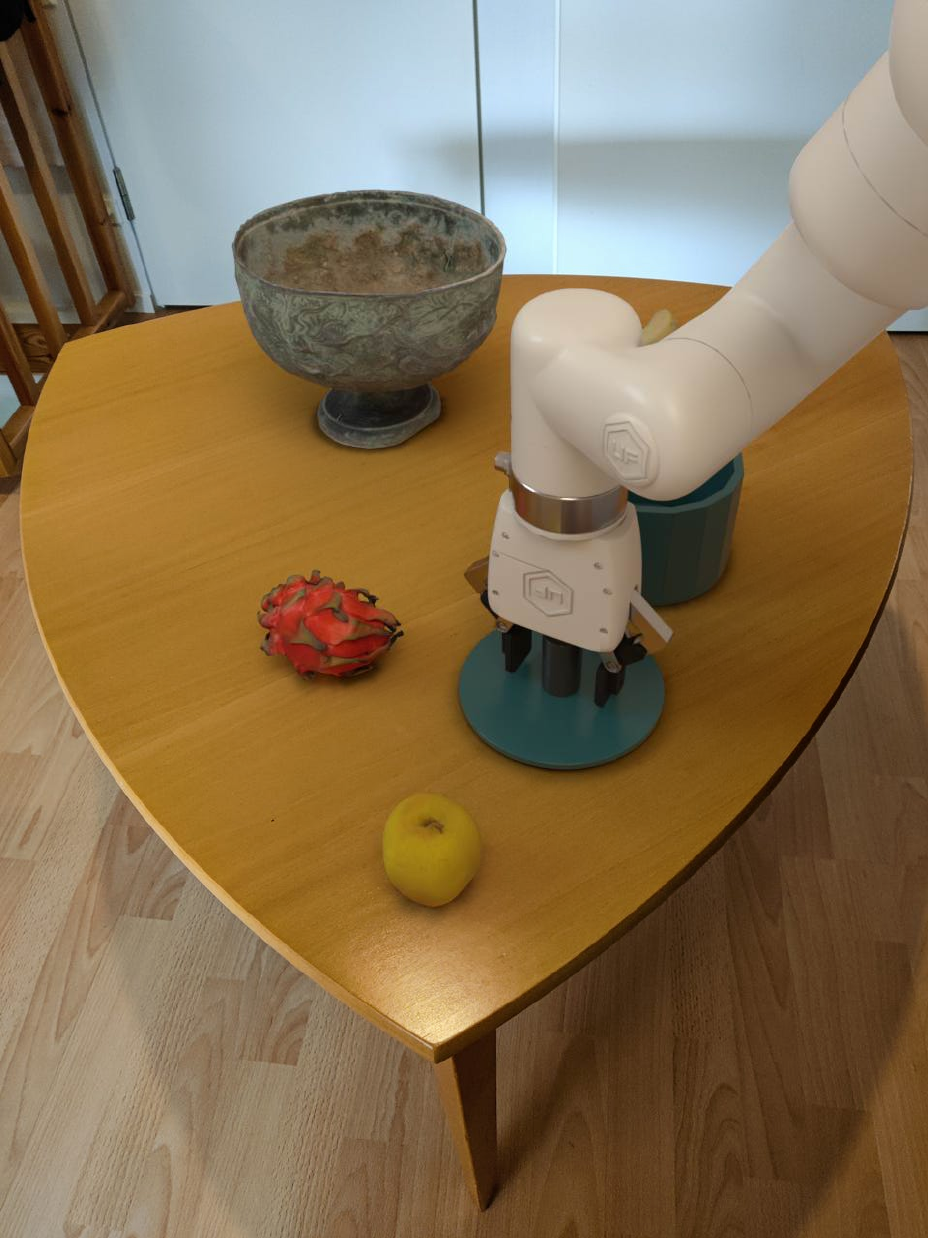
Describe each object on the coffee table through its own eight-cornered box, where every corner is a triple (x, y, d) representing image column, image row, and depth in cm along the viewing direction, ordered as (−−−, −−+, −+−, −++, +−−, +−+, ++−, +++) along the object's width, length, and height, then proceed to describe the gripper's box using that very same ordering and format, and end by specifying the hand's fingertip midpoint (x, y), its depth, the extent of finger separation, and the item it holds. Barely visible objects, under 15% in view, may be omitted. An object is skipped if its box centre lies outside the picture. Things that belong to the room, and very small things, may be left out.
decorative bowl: (214, 399, 111) (178, 220, 97) (403, 330, 122) (396, 161, 108) (342, 519, 96) (322, 328, 82) (544, 427, 107) (557, 246, 93)
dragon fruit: (261, 655, 84) (399, 686, 83) (228, 674, 76) (381, 709, 75) (279, 557, 83) (419, 587, 82) (247, 565, 74) (403, 599, 74)
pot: (748, 529, 91) (766, 436, 84) (691, 627, 82) (707, 532, 75) (602, 487, 97) (608, 396, 90) (534, 574, 88) (535, 481, 81)
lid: (693, 662, 79) (704, 601, 75) (613, 807, 70) (619, 746, 65) (517, 601, 86) (517, 540, 81) (421, 725, 76) (415, 664, 71)
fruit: (699, 350, 116) (703, 323, 113) (591, 386, 111) (593, 359, 108) (661, 326, 120) (664, 299, 118) (556, 359, 115) (557, 333, 113)
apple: (473, 934, 63) (469, 864, 58) (376, 918, 64) (362, 847, 59) (491, 849, 68) (489, 776, 62) (400, 835, 69) (390, 762, 63)
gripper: (424, 482, 65) (439, 670, 77) (676, 560, 58) (649, 753, 71) (480, 425, 70) (486, 612, 82) (719, 492, 63) (687, 684, 75)
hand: (561, 676), depth 76 cm, fingers open, 6 cm apart
